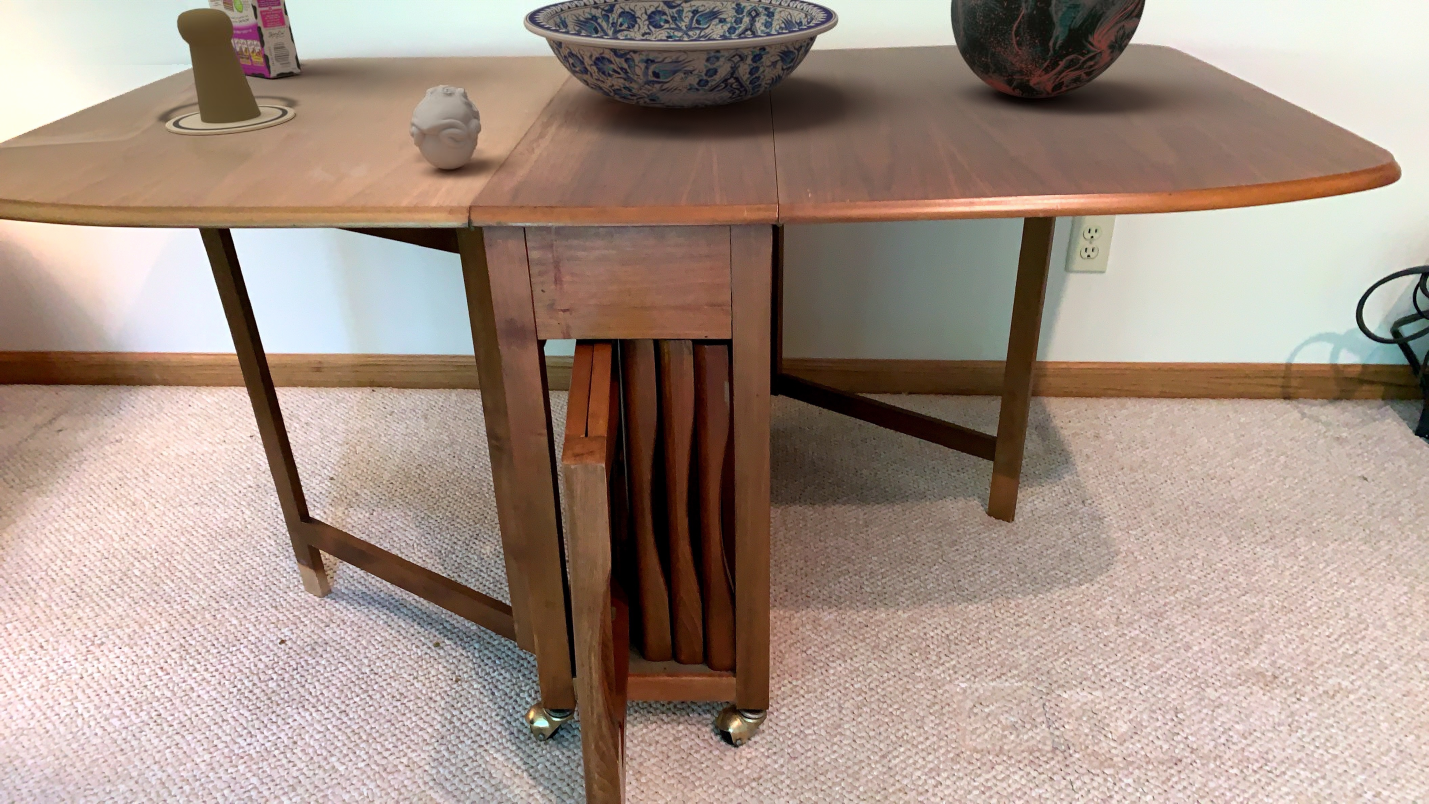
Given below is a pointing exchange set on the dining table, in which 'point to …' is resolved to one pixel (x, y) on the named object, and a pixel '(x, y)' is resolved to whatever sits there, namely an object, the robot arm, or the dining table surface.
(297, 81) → the dining table surface
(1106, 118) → the dining table surface
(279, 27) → the candy bar box
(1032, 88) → the decorative sphere
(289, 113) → the round coaster
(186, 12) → the cork
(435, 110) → the frog figurine
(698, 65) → the ceramic bowl
